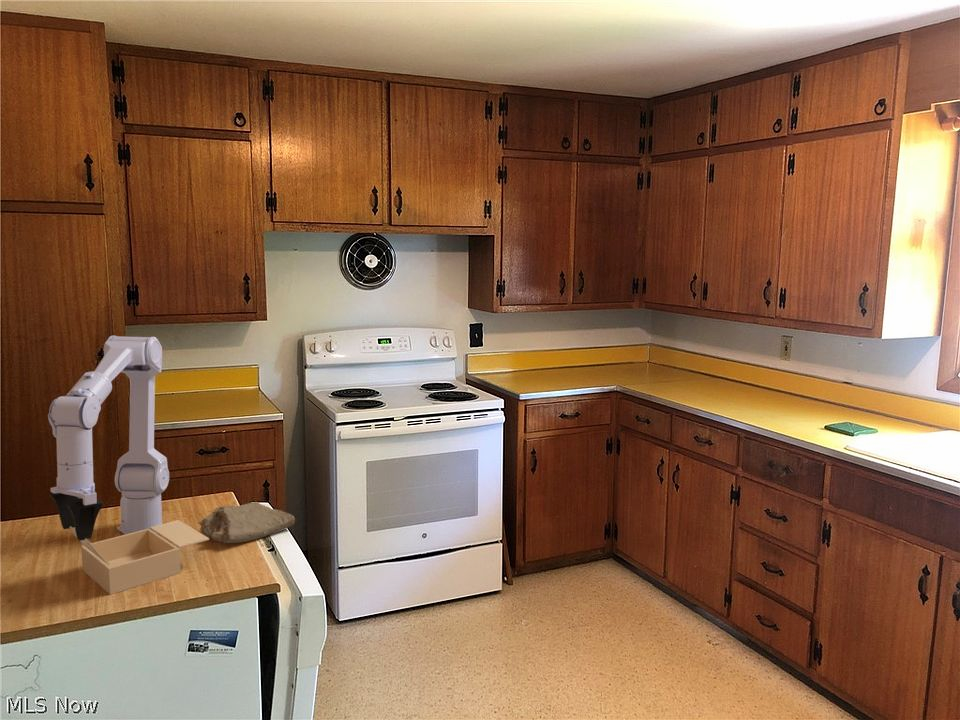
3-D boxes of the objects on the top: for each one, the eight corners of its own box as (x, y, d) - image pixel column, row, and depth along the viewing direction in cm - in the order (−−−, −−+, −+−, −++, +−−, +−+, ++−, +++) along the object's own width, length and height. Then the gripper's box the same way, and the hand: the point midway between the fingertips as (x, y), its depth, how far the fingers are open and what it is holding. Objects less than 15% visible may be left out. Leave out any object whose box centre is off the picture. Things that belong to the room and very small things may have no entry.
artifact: (187, 537, 163) (224, 560, 153) (184, 506, 161) (221, 527, 152) (259, 509, 176) (296, 528, 167) (257, 481, 174) (295, 498, 165)
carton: (82, 570, 143) (81, 544, 143) (179, 543, 157) (178, 519, 157) (110, 594, 134) (108, 567, 133) (210, 563, 148) (209, 538, 147)
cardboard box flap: (83, 542, 143) (81, 543, 142) (64, 521, 140) (62, 522, 139) (110, 564, 134) (108, 565, 133) (91, 542, 130) (89, 543, 130)
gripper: (37, 457, 135) (40, 527, 137) (65, 473, 126) (67, 549, 127) (78, 451, 141) (80, 519, 142) (108, 466, 131) (109, 540, 132)
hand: (77, 533), depth 135 cm, fingers open, 7 cm apart
